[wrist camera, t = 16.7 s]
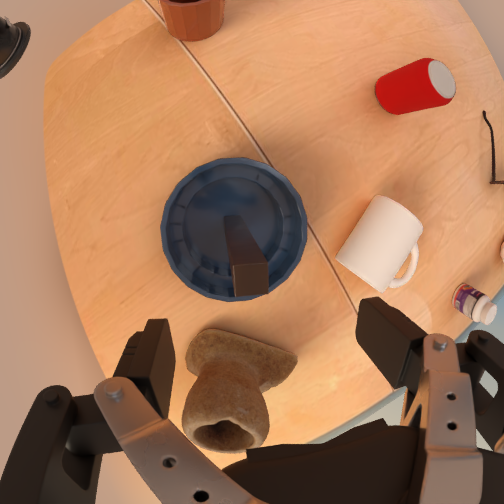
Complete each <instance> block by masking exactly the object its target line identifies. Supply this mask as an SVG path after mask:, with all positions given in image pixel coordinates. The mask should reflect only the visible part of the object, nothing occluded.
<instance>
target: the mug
mask: <svg viewBox="0 0 504 504" xmlns="http://www.w3.org/2000/svg"><path fill="white" fill-rule="evenodd" d="M422 232H423V226H422V224H421V222H420V221H419V220H418V218H417V217H416V216H415V215H414V214H413V213H411V212H410V211H409V210H408V209H407V208H405V207H404V206H402V205H401V204H399V203H398V202H396V201H394V200H392V199H390V198H388V197H385V196H382V195H376V196H374V198H373V199H372V201H371V202H370V204H369V206H368V207H367V209H366V210H365V212H364V214H363V215H362V217H361V218H360V220H359V221H358V223H357V225H356V226H355V228H354V229H353V231H352V232H351V234H350V235H349V237H348V238H347V240H346V241H345V243H344V244H343V246H342V247H341V249H340V250H339V252H338V253H337V255H336V256H335V259H336V260H337V261H338V262H339V263H341V264H342V265H343V266H345V267H346V268H347V269H349V270H350V271H352V272H353V273H354V274H356V275H357V276H358V277H360V278H361V279H362V280H364V281H365V282H366V283H368V284H369V285H371V286H372V287H373V288H375V289H376V290H377V291H379V292H380V293H384V292H385V290H386V289H387V287H390V288H398V287H401V286H402V285H404V284H405V283H407V282H408V281H409V280H410V279H411V277H412V276H413V274H414V272H415V270H416V267H417V263H418V257H419V249H418V244H417V240H418V238H419V237H420V235H421V233H422ZM410 252H411V255H412V257H411V261H410V264H409V266H408V268H407V270H406V271H405V273H404V274H403V276H402V277H401V278H398V279H397V278H394V277H395V275H396V274H397V272H398V271H399V269H400V268H401V266H402V265H403V263H404V261H405V260H406V258H407V257H408V255H409V253H410Z"/></svg>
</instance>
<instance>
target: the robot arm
mask: <svg viewBox="0 0 504 504" xmlns="http://www.w3.org/2000/svg"><path fill="white" fill-rule="evenodd" d="M5 18H6V20H5V19H3V18H2V17H0V70H1V69H2V68H3V67H4V66H5V65H6V64H7V63H8V62H9V61H10V60H11V58H12V57H13V55H14V54H15V52H16V51H17V49H18V47H19V44H20V42H21V39H22V30H21V29H20V28H19V27H17V26H14V25H13V24H11V23H10V21H9V19H8V18H7V17H5ZM356 339H357V342H358V344H359V345H360V346H361V347H362V349H363V350H364V351H365V353H366V354H367V355H368V356H369V358H370V359H371V360H372V361H373V363H374V364H375V365H376V366H377V368H378V369H379V370H380V372H381V373H382V374H383V375H384V377H385V378H386V379H387V381H388V382H389V383H390V384H391V386H392V387H393V388H394V390H395V389H398V388H400V387H403V386H406V387H407V389H406V392H405V396H404V403H403V409H402V415H401V422H400V426H397V425H394V426H388V425H387V424H386V422H385V420H384V419H383V418H382V419H378V420H375V421H373V422H369V423H367V424H363V425H360V426H357V427H354V428H352V429H350V430H348V431H346V432H345V433H343V434H341V435H339V436H337V437H335V438H333V439H331V440H329V441H327V442H325V443H322V444H280V445H274V446H267V447H259V448H251V449H246V454H247V458H246V459H243V460H240V461H238V462H235V463H233V464H231V465H229V466H227V467H225V468H223V469H222V470H220V469H219V468H218V467H217V466H216V465H215V464H214V463H212V462H211V461H210V460H209V459H208V458H207V457H206V456H205V455H204V454H203V453H202V452H201V451H200V450H199V449H198V448H197V447H196V446H194V445H193V444H192V443H191V442H190V441H189V440H188V439H187V437H186V436H185V435H184V434H183V433H182V432H181V431H180V430H179V429H178V428H177V427H176V426H175V425H174V424H173V423H172V422H171V421H170V420H169V419H168V413H169V406H170V398H171V391H172V384H173V377H174V371H175V363H176V360H175V351H174V346H173V341H172V337H171V332H170V327H169V323H168V320H167V319H148V321H147V324H146V326H145V329H144V331H141V332H136V333H135V334H134V335H133V336H131V337H130V338H129V340H128V342H127V344H126V346H125V349H124V351H123V353H122V354H123V355H122V356H121V358H120V360H119V363H118V365H117V367H116V370H115V372H114V375H113V377H112V378H108V379H106V380H104V381H102V382H101V383H99V384H98V385H97V386H96V388H95V390H94V394H90V395H83V396H76V397H72V395H71V393H70V391H69V390H68V389H67V388H66V387H64V386H60V385H54V386H50V387H47V388H45V389H43V390H42V391H41V392H40V393H39V394H38V395H37V397H36V399H35V401H34V403H33V405H32V407H31V409H30V411H29V413H28V415H27V417H26V419H25V421H24V423H23V425H22V428H21V430H20V432H19V434H18V436H17V439H16V441H15V443H14V446H13V448H12V451H11V453H10V456H9V458H8V461H7V464H6V466H5V469H4V471H3V474H2V477H1V480H0V504H95V499H96V492H97V485H98V478H99V473H100V467H101V461H102V456H103V454H105V453H113V452H120V451H124V452H125V454H126V455H127V457H128V458H129V460H130V461H131V463H132V464H133V466H134V467H135V469H136V470H137V472H138V473H139V474H140V476H141V477H142V478H143V480H144V481H145V482H146V484H147V485H148V486H149V488H150V489H151V490H152V491H153V493H154V494H155V495H156V497H157V498H158V499H159V500H160V501H161V503H162V504H504V344H503V343H501V342H500V341H499V340H498V339H497V338H495V337H494V336H493V335H492V334H490V333H488V332H486V331H483V330H474V331H472V332H470V334H469V336H468V339H467V342H466V343H457V344H455V342H454V341H453V340H452V339H451V338H450V337H448V336H446V335H443V334H429V335H428V334H427V333H426V332H425V331H424V330H422V329H421V328H420V327H419V326H418V325H417V324H415V323H414V322H413V321H411V319H409V318H408V317H406V315H405V314H403V313H402V312H401V311H400V310H398V309H396V308H394V307H391V306H389V305H388V304H387V303H386V302H384V301H383V300H382V299H381V298H379V297H372V298H366V299H362V300H361V301H360V304H359V311H358V318H357V324H356ZM485 370H486V371H487V372H488V373H489V374H490V375H491V376H492V377H493V378H494V379H495V380H496V381H497V383H498V391H497V394H496V395H495V397H494V398H493V397H492V396H491V395H490V394H489V393H488V391H486V389H485V388H484V387H483V386H482V385H481V384H480V383H479V381H480V379H481V377H482V375H483V373H484V371H485ZM476 429H477V430H478V431H479V433H480V434H481V435H482V437H483V438H484V439H485V441H486V442H487V443H488V445H489V446H490V447H491V449H492V450H493V451H489V450H485V449H482V448H478V447H477V446H476Z"/></svg>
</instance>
